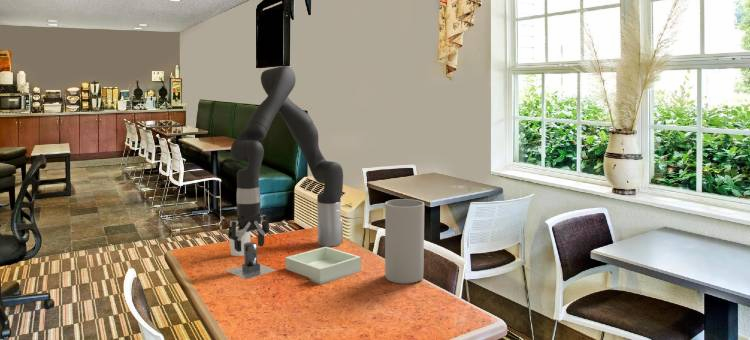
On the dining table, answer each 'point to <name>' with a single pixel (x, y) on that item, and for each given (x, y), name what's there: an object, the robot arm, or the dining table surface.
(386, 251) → the cylinder vase
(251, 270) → the dark grey stamp
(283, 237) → the dining table surface
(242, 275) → the stud plate
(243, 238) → the white cup
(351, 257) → the sage bin
